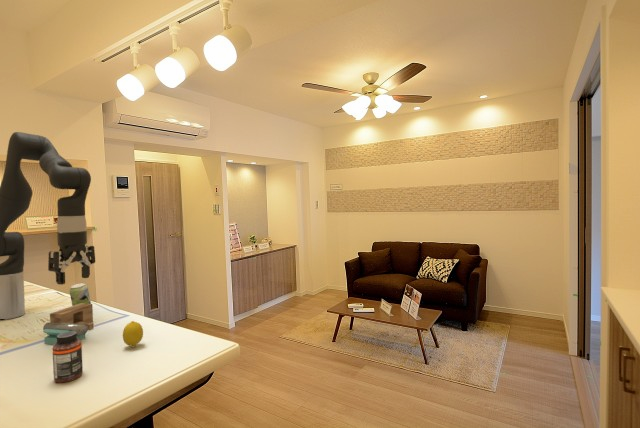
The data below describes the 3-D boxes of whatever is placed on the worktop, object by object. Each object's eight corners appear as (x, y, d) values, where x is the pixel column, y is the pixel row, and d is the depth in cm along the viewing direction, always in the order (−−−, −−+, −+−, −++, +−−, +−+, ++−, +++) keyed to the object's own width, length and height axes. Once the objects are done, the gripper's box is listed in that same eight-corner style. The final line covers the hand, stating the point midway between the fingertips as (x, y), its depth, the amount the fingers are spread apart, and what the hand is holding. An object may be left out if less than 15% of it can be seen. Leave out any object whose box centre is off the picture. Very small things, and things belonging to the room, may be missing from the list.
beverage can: (95, 310, 139) (94, 281, 139) (81, 316, 132) (80, 286, 132) (81, 310, 140) (80, 281, 140) (66, 316, 133) (65, 286, 132)
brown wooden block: (50, 333, 115) (49, 313, 114) (81, 321, 127) (80, 303, 126) (76, 336, 113) (75, 315, 113) (105, 323, 125) (105, 304, 124)
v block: (43, 344, 106) (42, 329, 106) (63, 335, 113) (63, 322, 113) (67, 346, 105) (66, 331, 104) (86, 337, 111) (85, 323, 111)
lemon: (147, 344, 106) (146, 319, 106) (132, 351, 101) (131, 325, 100) (134, 342, 108) (133, 317, 107) (118, 349, 102) (117, 323, 102)
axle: (43, 333, 109) (42, 324, 108) (52, 329, 112) (51, 320, 111) (80, 336, 106) (79, 326, 106) (88, 332, 109) (88, 323, 109)
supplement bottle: (64, 372, 89) (62, 329, 88) (87, 371, 89) (86, 328, 89) (47, 384, 83) (46, 339, 82) (73, 383, 83) (71, 338, 83)
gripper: (82, 228, 114) (83, 275, 115) (39, 232, 100) (41, 286, 101) (100, 228, 113) (102, 276, 114) (60, 232, 99) (62, 287, 100)
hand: (73, 280), depth 107 cm, fingers open, 8 cm apart
